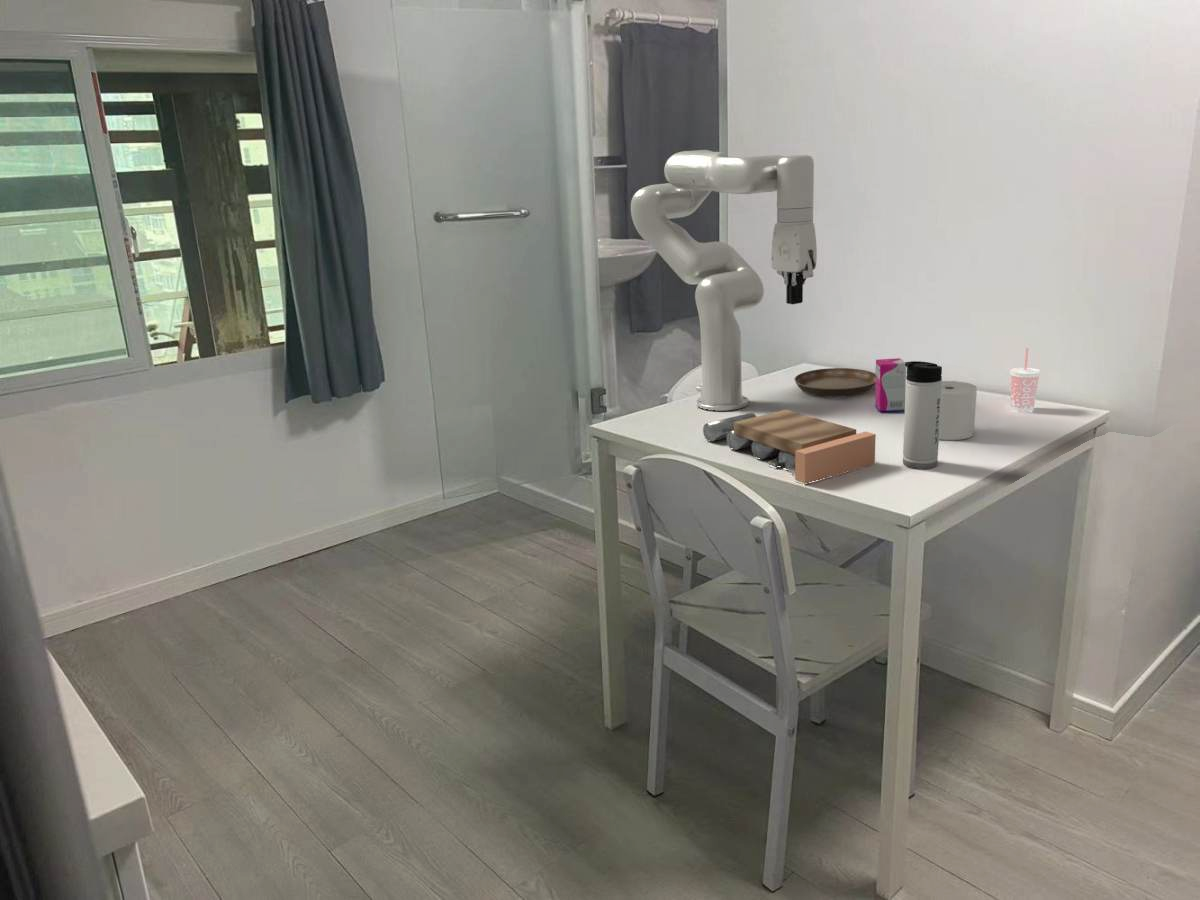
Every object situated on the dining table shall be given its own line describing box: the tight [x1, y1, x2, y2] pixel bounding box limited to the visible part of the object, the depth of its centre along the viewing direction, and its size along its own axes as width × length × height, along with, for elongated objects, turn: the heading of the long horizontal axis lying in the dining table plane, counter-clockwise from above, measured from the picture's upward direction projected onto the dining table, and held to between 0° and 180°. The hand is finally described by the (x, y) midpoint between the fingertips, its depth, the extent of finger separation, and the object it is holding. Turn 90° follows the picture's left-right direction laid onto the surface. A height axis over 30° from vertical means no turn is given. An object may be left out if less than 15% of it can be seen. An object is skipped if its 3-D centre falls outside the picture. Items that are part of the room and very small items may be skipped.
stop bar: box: [794, 431, 877, 484], centre depth 173 cm, size 2×18×6 cm, turn 121°
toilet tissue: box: [939, 380, 978, 441], centre depth 191 cm, size 11×12×10 cm
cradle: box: [767, 457, 795, 474], centre depth 180 cm, size 8×14×1 cm, turn 121°
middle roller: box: [726, 431, 753, 451], centre depth 193 cm, size 4×12×4 cm, turn 122°
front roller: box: [751, 441, 782, 460], centre depth 186 cm, size 4×12×4 cm, turn 121°
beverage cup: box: [1009, 347, 1042, 413], centre depth 203 cm, size 6×6×14 cm
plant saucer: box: [793, 367, 876, 398], centre depth 232 cm, size 21×21×3 cm
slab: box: [734, 409, 857, 455], centre depth 183 cm, size 20×14×2 cm
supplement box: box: [874, 357, 907, 414], centre depth 211 cm, size 6×6×12 cm
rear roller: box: [702, 412, 758, 442], centre depth 199 cm, size 4×12×4 cm, turn 121°
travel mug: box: [902, 360, 943, 470], centre depth 173 cm, size 6×7×20 cm
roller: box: [778, 450, 795, 469], centre depth 179 cm, size 12×4×4 cm, turn 121°
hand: (794, 303), depth 200 cm, fingers closed
